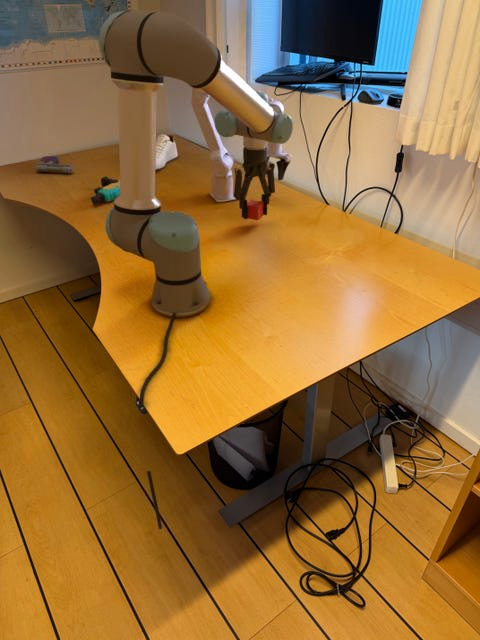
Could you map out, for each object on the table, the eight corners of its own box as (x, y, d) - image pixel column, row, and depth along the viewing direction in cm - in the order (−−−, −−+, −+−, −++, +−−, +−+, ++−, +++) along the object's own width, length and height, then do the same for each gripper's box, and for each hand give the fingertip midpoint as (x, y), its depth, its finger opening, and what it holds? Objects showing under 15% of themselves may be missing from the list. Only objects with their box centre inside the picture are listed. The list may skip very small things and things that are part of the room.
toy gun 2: (68, 191, 178) (99, 198, 173) (113, 171, 197) (142, 177, 191) (70, 203, 181) (101, 210, 175) (115, 182, 199) (143, 188, 194)
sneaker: (133, 173, 208) (129, 144, 201) (161, 153, 230) (158, 127, 223) (155, 175, 205) (151, 146, 198) (180, 155, 227) (178, 129, 220)
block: (258, 220, 159) (258, 207, 156) (244, 218, 161) (244, 204, 158) (263, 215, 163) (264, 201, 160) (250, 212, 165) (250, 199, 162)
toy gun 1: (85, 164, 218) (69, 176, 206) (48, 162, 221) (31, 173, 209) (84, 156, 216) (67, 167, 204) (46, 154, 219) (28, 164, 207)
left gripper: (276, 139, 155) (274, 206, 168) (221, 148, 148) (223, 217, 161) (288, 145, 149) (285, 214, 163) (231, 154, 142) (233, 225, 156)
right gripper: (250, 137, 169) (250, 175, 177) (282, 145, 161) (281, 184, 169) (263, 133, 173) (263, 170, 181) (295, 141, 165) (293, 179, 173)
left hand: (254, 215), depth 162 cm, fingers closed on block, 7 cm apart
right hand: (272, 177), depth 175 cm, fingers open, 7 cm apart
